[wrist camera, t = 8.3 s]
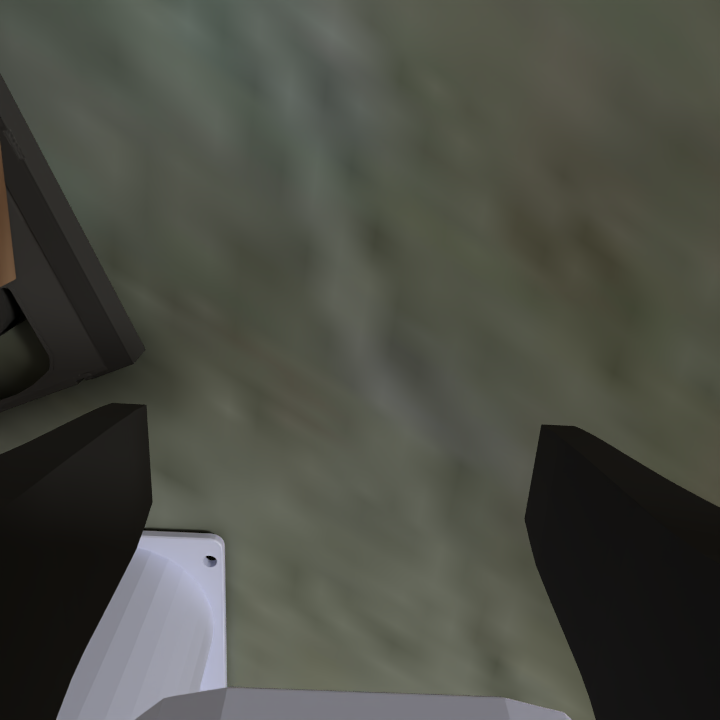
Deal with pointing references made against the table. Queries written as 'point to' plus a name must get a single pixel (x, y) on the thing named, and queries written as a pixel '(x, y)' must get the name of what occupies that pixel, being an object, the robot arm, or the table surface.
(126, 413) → the robot arm
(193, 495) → the table surface
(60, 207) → the vhs tape
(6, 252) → the walnut block
